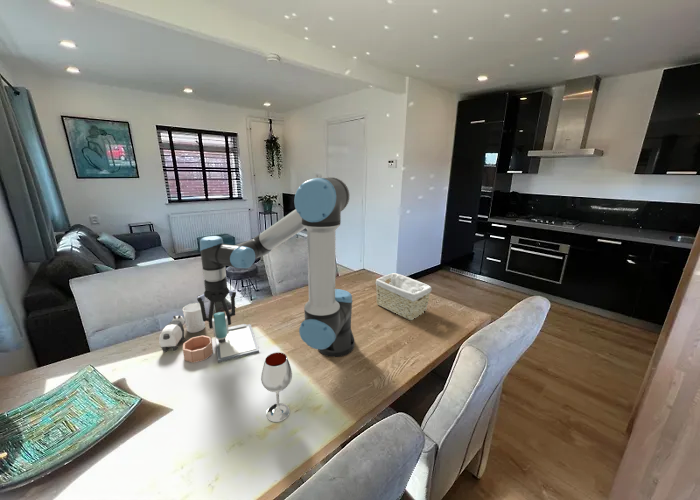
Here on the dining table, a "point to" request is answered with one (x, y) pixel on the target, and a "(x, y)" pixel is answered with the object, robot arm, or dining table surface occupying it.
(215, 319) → the teal cylinder
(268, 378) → the wineglass
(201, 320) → the white cup
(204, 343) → the terracotta octagonal bowl
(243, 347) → the clipboard
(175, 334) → the giant panda
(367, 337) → the dining table surface
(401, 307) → the storage basket
